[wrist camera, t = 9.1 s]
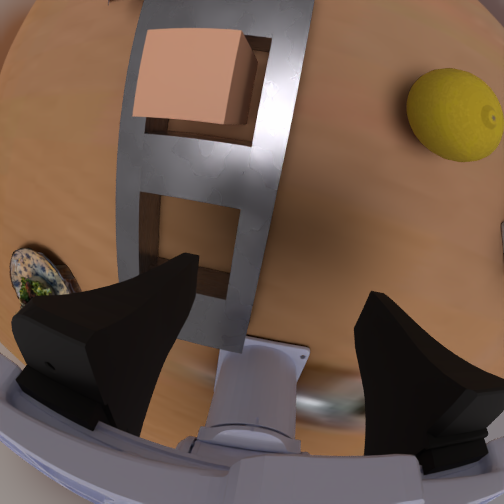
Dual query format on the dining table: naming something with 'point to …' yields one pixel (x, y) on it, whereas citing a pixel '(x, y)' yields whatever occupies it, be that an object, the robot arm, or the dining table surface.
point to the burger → (39, 276)
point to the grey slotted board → (211, 160)
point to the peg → (196, 75)
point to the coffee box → (503, 227)
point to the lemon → (455, 115)
